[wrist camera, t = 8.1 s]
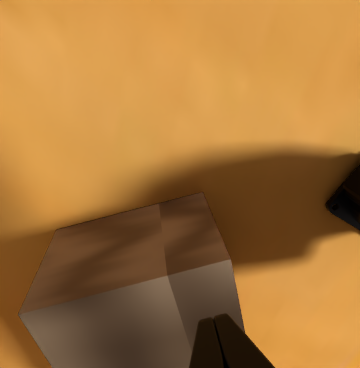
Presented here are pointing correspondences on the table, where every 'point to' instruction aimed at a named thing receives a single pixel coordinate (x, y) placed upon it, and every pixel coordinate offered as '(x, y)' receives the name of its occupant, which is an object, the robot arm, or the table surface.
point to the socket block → (131, 288)
